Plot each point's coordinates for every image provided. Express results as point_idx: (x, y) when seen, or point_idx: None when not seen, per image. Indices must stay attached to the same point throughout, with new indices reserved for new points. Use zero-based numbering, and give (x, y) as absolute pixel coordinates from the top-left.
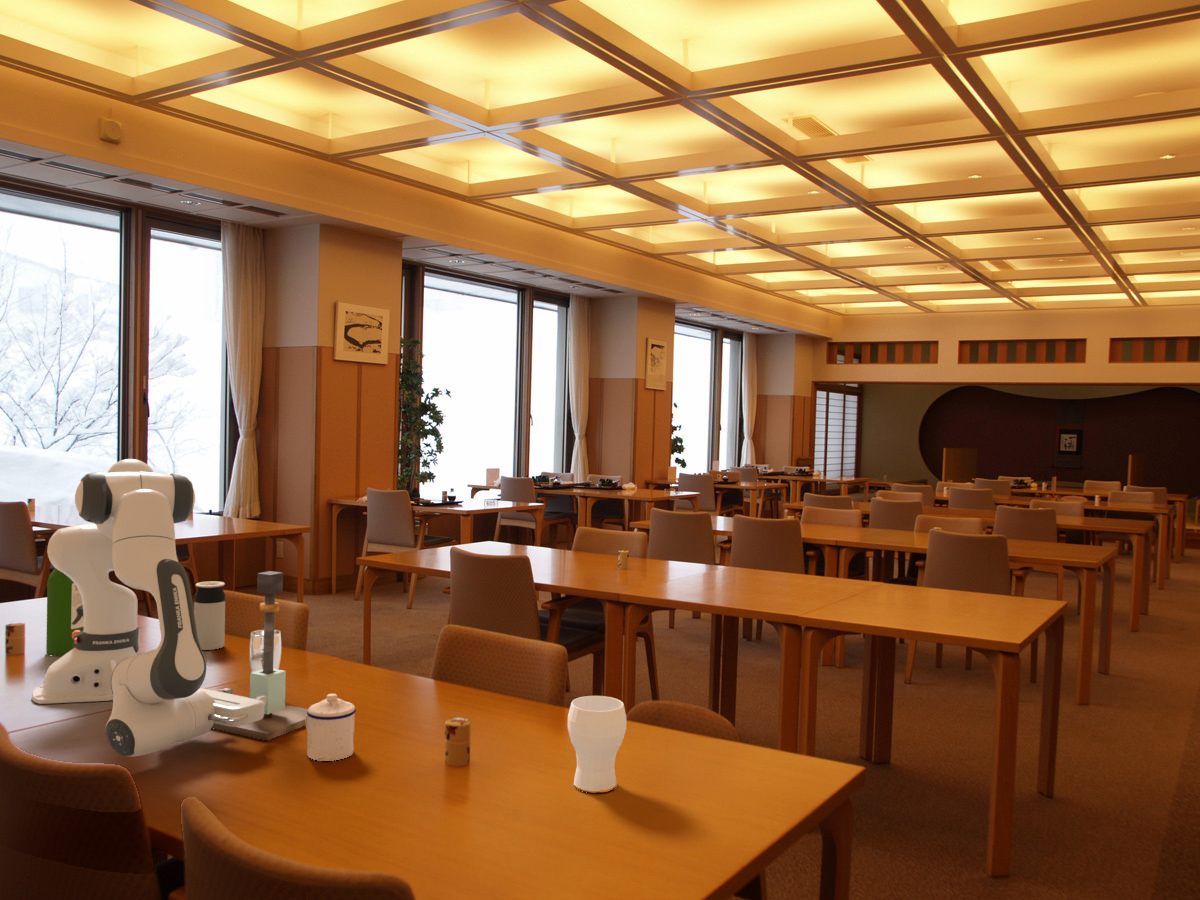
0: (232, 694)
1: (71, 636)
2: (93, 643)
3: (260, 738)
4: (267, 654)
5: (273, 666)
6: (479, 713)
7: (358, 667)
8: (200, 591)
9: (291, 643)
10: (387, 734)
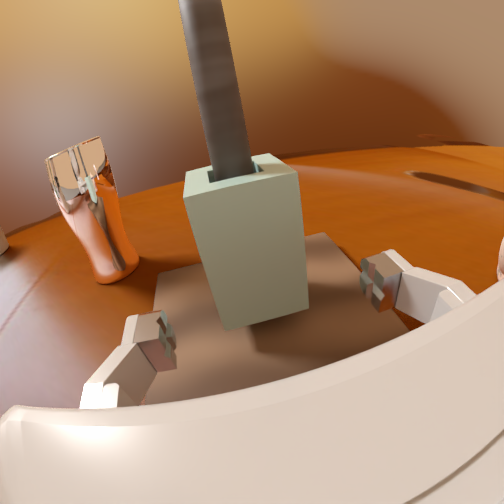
0: (366, 361)
1: None
2: None
3: None
4: (230, 92)
5: (115, 204)
6: (401, 164)
7: (157, 189)
8: None
9: (58, 213)
10: (451, 215)
